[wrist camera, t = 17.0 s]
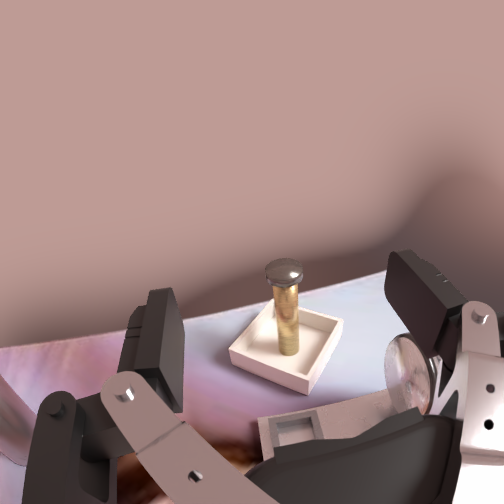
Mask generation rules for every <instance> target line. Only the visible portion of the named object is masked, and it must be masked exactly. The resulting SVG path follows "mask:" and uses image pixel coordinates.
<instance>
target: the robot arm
mask: <svg viewBox="0 0 504 504" xmlns="http://www.w3.org/2000/svg"><path fill="white" fill-rule="evenodd" d="M384 291H385V296H386V298H387V300H388V302H389V303H390V305H391V306H392V307H393V309H394V310H395V312H396V313H397V315H398V316H399V317H400V319H401V320H402V322H403V323H404V325H405V326H406V327H407V329H408V330H409V332H410V333H411V335H412V336H413V338H414V339H415V341H416V342H417V344H418V345H419V347H420V348H421V350H422V351H423V353H424V354H425V356H426V357H427V359H430V358H433V357H436V356H438V355H440V357H441V361H440V363H439V367H438V375H437V382H436V388H435V394H434V400H433V405H432V408H431V411H430V413H429V414H423V415H422V414H421V412H420V410H419V408H418V406H416V407H414V408H411V409H409V410H406V411H404V412H401V413H398V414H396V415H393V416H390V417H387V418H385V419H384V420H382V421H381V422H379V423H378V424H376V425H375V426H373V427H371V428H370V429H368V430H366V431H365V432H363V433H361V434H360V435H358V436H356V437H353V438H343V439H312V440H308V441H304V442H299V443H294V444H289V445H284V446H279V447H273V449H274V457H272V458H269V459H267V460H265V461H263V462H261V463H260V464H258V465H256V466H255V467H253V468H252V469H251V470H249V471H248V472H247V473H246V474H245V475H243V474H242V473H241V472H239V471H238V470H237V469H236V468H235V467H234V466H232V465H231V464H230V463H229V462H228V461H227V460H226V459H225V458H223V457H222V456H221V455H220V454H219V453H218V452H217V451H216V450H215V449H214V448H213V447H212V446H210V445H209V444H208V443H207V442H206V441H205V440H204V439H203V438H202V437H201V436H200V435H199V434H198V433H197V432H196V431H195V430H194V429H193V428H192V427H191V426H190V425H189V424H188V423H186V422H185V421H183V422H182V421H181V420H180V419H179V418H178V417H177V416H176V415H175V414H174V413H183V370H184V343H185V332H184V325H183V321H182V318H181V315H180V312H179V308H178V305H177V303H176V299H175V296H174V293H173V290H172V288H163V289H156V290H150V292H149V296H148V300H147V305H144V306H138V307H137V308H136V310H135V311H134V312H133V314H132V315H131V316H130V320H129V323H128V327H127V328H128V330H127V331H126V335H125V339H124V344H123V348H122V352H121V356H120V361H119V365H118V370H117V374H115V375H113V376H111V377H110V378H109V379H108V380H107V381H106V382H105V383H104V385H103V386H102V389H101V392H100V393H97V394H94V395H91V396H88V397H85V398H81V399H78V400H76V399H75V398H74V397H73V396H72V395H71V394H70V393H68V392H66V391H57V392H54V393H51V394H50V395H48V396H47V397H46V398H45V399H44V400H43V401H42V403H41V405H40V407H39V410H38V414H37V415H36V414H35V413H34V412H33V411H32V410H31V409H30V408H29V407H28V406H27V405H26V404H25V403H24V401H23V400H22V399H21V398H20V397H19V396H18V395H17V394H16V393H15V391H14V390H13V389H12V388H11V387H10V386H9V384H8V383H7V382H6V381H5V380H4V378H3V377H2V376H1V375H0V452H1V453H3V454H4V455H5V456H7V457H8V458H9V459H11V460H12V461H13V462H15V463H16V464H18V465H22V466H27V467H26V474H25V481H24V488H23V497H22V504H117V457H119V456H122V455H126V454H129V453H133V452H136V456H137V458H138V459H139V461H140V462H141V464H142V465H143V466H144V467H145V469H146V470H147V471H148V473H149V474H150V475H151V476H152V478H153V479H154V480H155V481H156V482H157V484H158V485H159V486H160V487H161V488H162V490H163V491H164V492H165V493H166V494H167V495H168V497H169V498H170V499H171V500H172V501H173V502H174V503H175V504H504V312H499V313H495V312H494V311H493V309H492V308H491V307H489V306H488V305H486V304H484V303H482V302H478V301H470V302H469V301H468V300H466V298H465V297H464V296H463V295H462V294H461V293H460V292H459V291H458V290H457V289H456V288H455V287H454V286H453V285H452V284H451V282H449V281H447V278H446V277H445V276H444V275H443V274H442V275H441V272H440V271H439V270H438V269H437V268H436V267H435V266H434V265H432V264H430V263H428V262H427V261H425V260H423V259H420V258H419V257H418V256H417V255H416V254H415V253H414V252H413V251H412V250H411V249H404V250H398V251H393V252H391V253H390V255H389V259H388V266H387V272H386V278H385V285H384Z"/></svg>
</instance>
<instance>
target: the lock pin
mask: <svg viewBox="0 0 504 504" xmlns="http://www.w3.org/2000/svg"><path fill="white" fill-rule="evenodd" d="M265 272H266V280H267V282H268V283H269V284H271V285H272V286H273V292H274V303H275V313H276V324H277V334H278V345H279V352H280V353H281V354H282V355H284V356H293V355H295V354H297V353H298V352H299V349H300V347H299V311H298V285H297V284H298V283H299V282H300V281H301V280H302V278H303V267H302V264H301V263H300V262H299V261H297V260H294V259H290V258H282V259H277V260H274V261H272V262H270V263H269V264H268V265H267V266H266V268H265Z"/></svg>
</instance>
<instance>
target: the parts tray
mask: <svg viewBox="0 0 504 504" xmlns="http://www.w3.org/2000/svg"><path fill="white" fill-rule="evenodd" d="M298 311H299V347H300V349H299V352H298V353H297V354H295V355H293V356H284V355H282V354H281V353H280V352H279V345H278V334H277V324H276V313H275V303H274V299H272V300H271V301H270V302H269V303H268V304H267V305H266V307H265V308H264V309H263V310H262V311H261V312H260V313H259V315H258V316H257V317H256V318H255V319H254V320H253V321H252V323H251V324H250V325H249V326H248V327H247V328H246V329H245V330H244V332H243V333H242V334H241V335H240V336H239V337H238V338H237V339H236V341H235V342H234V343H233V344H232V345H231V346H230V347H229V348H228V349H229V354H230V358H231V362H232V365H234V366H237V367H239V368H241V369H243V370H246V371H248V372H250V373H253V374H255V375H257V376H260V377H262V378H264V379H267V380H269V381H272V382H274V383H277V384H279V385H282V386H284V387H287V388H289V389H292V390H294V391H297V392H299V393H302V394H305V395H307V396H308V395H309V393H310V392H311V390H312V388H313V387H314V385H315V383H316V382H317V380H318V378H319V376H320V375H321V373H322V371H323V369H324V368H325V366H326V364H327V362H328V360H329V359H330V357H331V355H332V353H333V351H334V349H335V347H336V346H337V344H338V342H339V340H340V338H341V336H342V328H343V319H340V318H336V317H333V316H329V315H326V314H322V313H319V312H315V311H312V310H308V309H305V308H302V307H298Z"/></svg>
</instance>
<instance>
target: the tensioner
mask: <svg viewBox="0 0 504 504" xmlns="http://www.w3.org/2000/svg"><path fill="white" fill-rule="evenodd" d="M440 361H441V357H440V355H438V356H436V357H433V358H430V359H427V357H426V356H425V354H424V353H423V351H422V350H421V348H420V347H419V345H418V344H417V342H416V341H415V339H414V338H413V336H412V335H411V333H410V332H408V333H404V334H400V335H398V336H396V337H395V338H394V339H393V340H392V341H391V342H390V343H389V345H388V347H387V350H386V354H385V363H384V368H385V379H386V385H387V389H385V390H381V391H378V392H375V393H371V394H368V395H364V396H361V397H357V398H353V399H349V400H345V401H341V402H337V403H333V404H329V405H325V406H320V407H315V408H311V409H306V410H301V411H296V412H290V413H284V414H279V415H272V416H266V417H259V418H257V419H258V426H259V432H260V439H261V446H262V452H263V459H264V461H265V460H267V459H269V458H272V457H274V449H273V447H279V446H284V445H289V444H294V443H299V442H304V441H308V440H312V439H343V438H353V437H356V436H358V435H360V434H361V433H363V432H365V431H366V430H368V429H370V428H371V427H373V426H375V425H376V424H378V423H379V422H381V421H382V420H384V419H385V418H387V417H390V416H393V415H396V414H398V413H401V412H404V411H406V410H409V409H411V408H414V407H416V406H418V408H419V410H420V412H421V414H422V415H423V414H429V413H430V411H431V408H432V405H433V400H434V394H435V388H436V382H437V375H438V367H439V363H440Z"/></svg>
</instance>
